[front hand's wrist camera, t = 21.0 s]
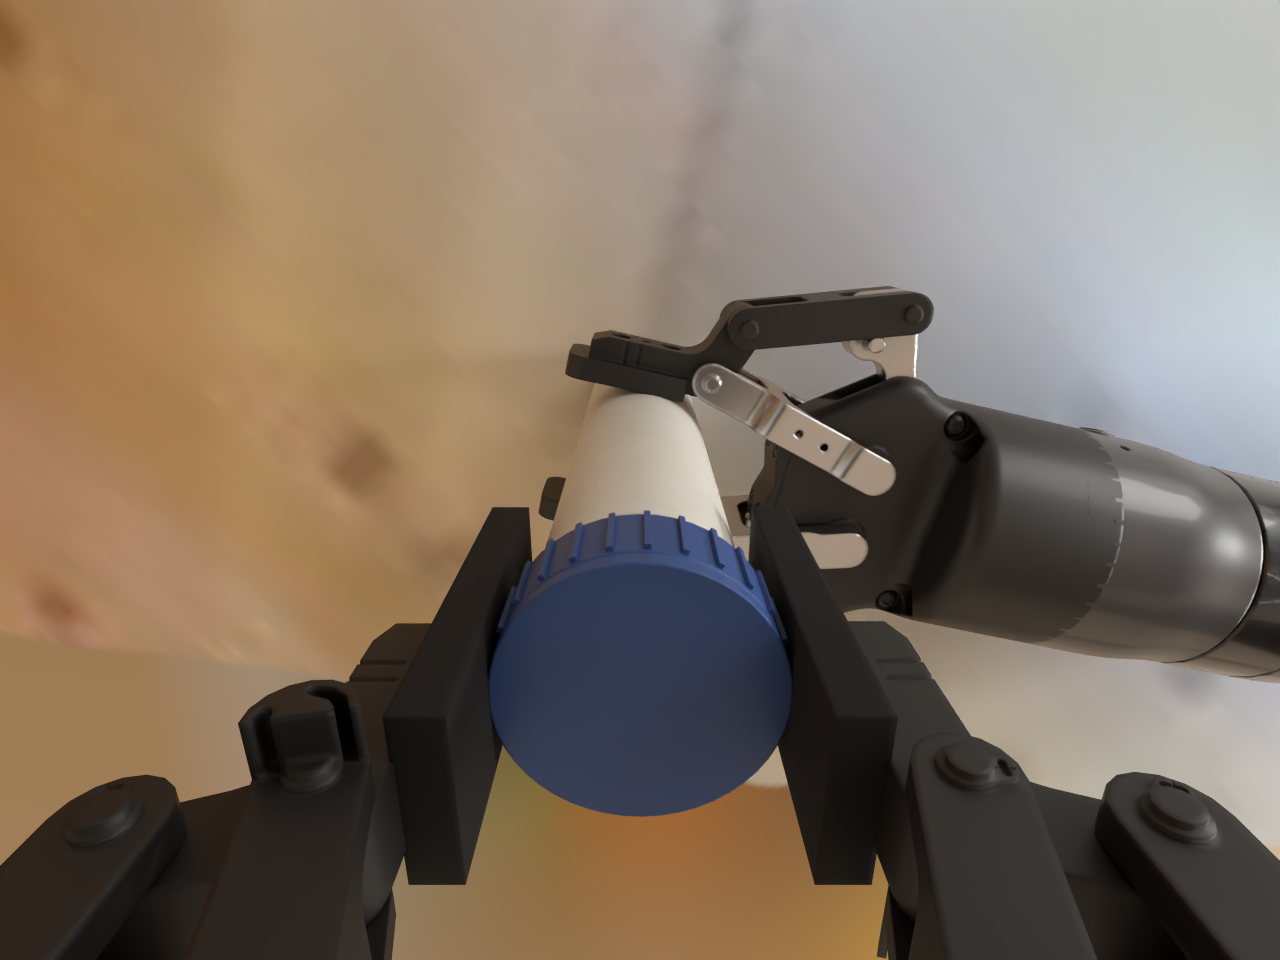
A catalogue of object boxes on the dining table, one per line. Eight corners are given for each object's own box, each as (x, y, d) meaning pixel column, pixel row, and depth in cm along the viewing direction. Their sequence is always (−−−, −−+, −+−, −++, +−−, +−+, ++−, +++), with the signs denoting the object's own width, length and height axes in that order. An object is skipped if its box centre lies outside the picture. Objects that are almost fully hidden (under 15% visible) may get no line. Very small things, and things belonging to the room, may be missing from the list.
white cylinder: (709, 397, 28) (814, 653, 11) (644, 467, 29) (650, 797, 12) (635, 331, 27) (628, 501, 10) (570, 406, 28) (468, 671, 11)
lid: (832, 630, 12) (863, 696, 10) (642, 783, 13) (642, 866, 12) (638, 450, 11) (637, 491, 9) (448, 635, 12) (417, 702, 11)
